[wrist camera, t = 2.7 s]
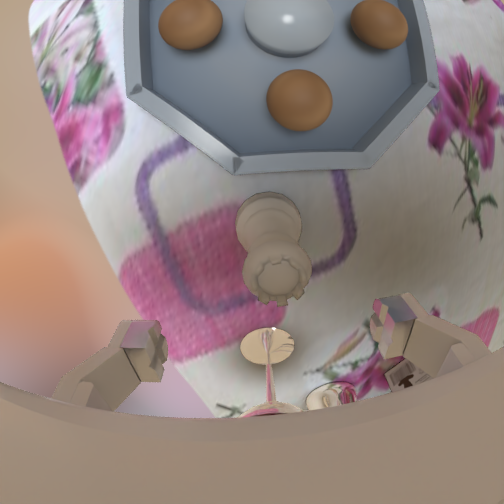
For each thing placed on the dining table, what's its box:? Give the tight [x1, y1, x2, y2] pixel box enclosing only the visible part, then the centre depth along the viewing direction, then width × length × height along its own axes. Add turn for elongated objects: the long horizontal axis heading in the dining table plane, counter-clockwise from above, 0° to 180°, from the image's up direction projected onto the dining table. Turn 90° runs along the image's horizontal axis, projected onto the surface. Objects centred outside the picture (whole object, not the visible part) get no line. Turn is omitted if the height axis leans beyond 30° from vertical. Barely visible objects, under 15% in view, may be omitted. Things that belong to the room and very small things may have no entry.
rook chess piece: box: [235, 192, 312, 307], centre depth 16 cm, size 4×4×8 cm
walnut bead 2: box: [266, 69, 333, 131], centre depth 13 cm, size 4×4×4 cm
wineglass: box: [237, 328, 305, 418], centre depth 19 cm, size 7×7×12 cm
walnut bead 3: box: [350, 0, 408, 50], centre depth 11 cm, size 4×4×4 cm
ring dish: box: [123, 0, 439, 175], centre depth 12 cm, size 19×19×3 cm
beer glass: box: [306, 382, 357, 410], centre depth 22 cm, size 7×7×15 cm
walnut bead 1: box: [158, 0, 223, 50], centre depth 11 cm, size 4×4×4 cm
